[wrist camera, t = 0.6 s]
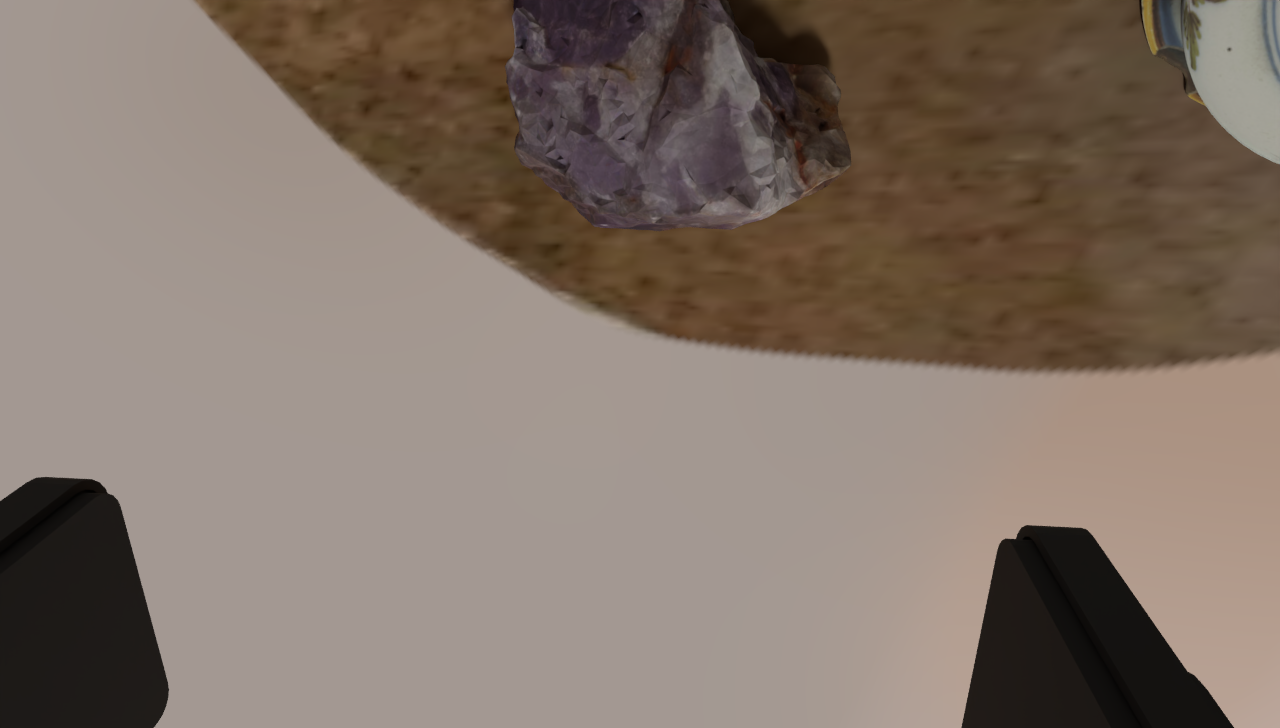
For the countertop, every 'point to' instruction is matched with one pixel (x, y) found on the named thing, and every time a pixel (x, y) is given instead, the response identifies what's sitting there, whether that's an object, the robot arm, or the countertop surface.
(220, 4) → the countertop surface
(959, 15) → the countertop surface
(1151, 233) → the countertop surface
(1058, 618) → the robot arm
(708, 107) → the rock
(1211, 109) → the apothecary jar
